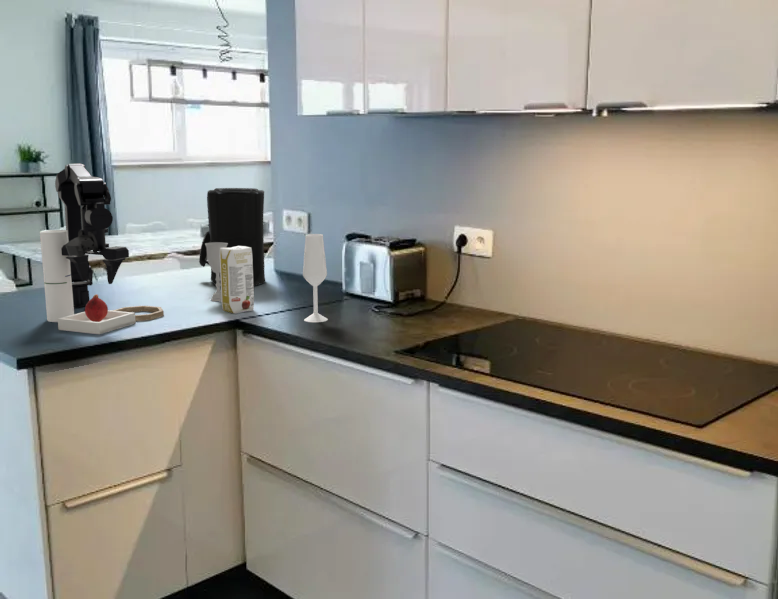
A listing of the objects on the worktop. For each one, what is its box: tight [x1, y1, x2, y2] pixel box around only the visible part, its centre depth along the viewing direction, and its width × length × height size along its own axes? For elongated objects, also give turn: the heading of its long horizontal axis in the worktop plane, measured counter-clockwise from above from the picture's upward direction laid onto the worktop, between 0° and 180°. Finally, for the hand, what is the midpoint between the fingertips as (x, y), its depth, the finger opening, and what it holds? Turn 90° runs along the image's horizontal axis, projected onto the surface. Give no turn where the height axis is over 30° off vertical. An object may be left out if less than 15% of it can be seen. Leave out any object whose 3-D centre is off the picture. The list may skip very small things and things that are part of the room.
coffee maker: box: [198, 187, 266, 287], centre depth 281 cm, size 23×32×34 cm
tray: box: [57, 309, 137, 335], centre depth 217 cm, size 14×14×3 cm
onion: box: [84, 294, 109, 322], centre depth 216 cm, size 6×6×8 cm
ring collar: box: [112, 305, 165, 322], centre depth 230 cm, size 14×14×2 cm
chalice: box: [205, 242, 228, 302], centre depth 252 cm, size 7×7×18 cm
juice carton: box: [220, 246, 255, 315], centre depth 235 cm, size 8×9×19 cm
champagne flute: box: [302, 233, 329, 323], centre depth 223 cm, size 7×7×24 cm
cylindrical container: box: [39, 229, 75, 323], centre depth 223 cm, size 7×7×25 cm
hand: (97, 282), depth 218 cm, fingers open, 9 cm apart
